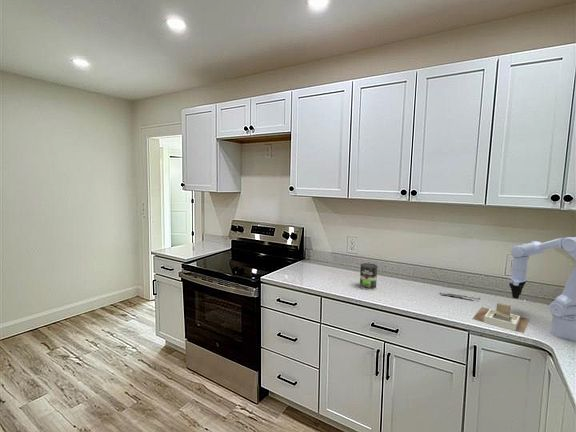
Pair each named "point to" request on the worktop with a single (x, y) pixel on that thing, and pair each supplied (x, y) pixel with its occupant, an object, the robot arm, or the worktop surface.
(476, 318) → the board
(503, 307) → the tall bronze block
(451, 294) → the driftwood
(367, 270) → the coffee can
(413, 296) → the worktop surface
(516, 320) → the cream square tray
